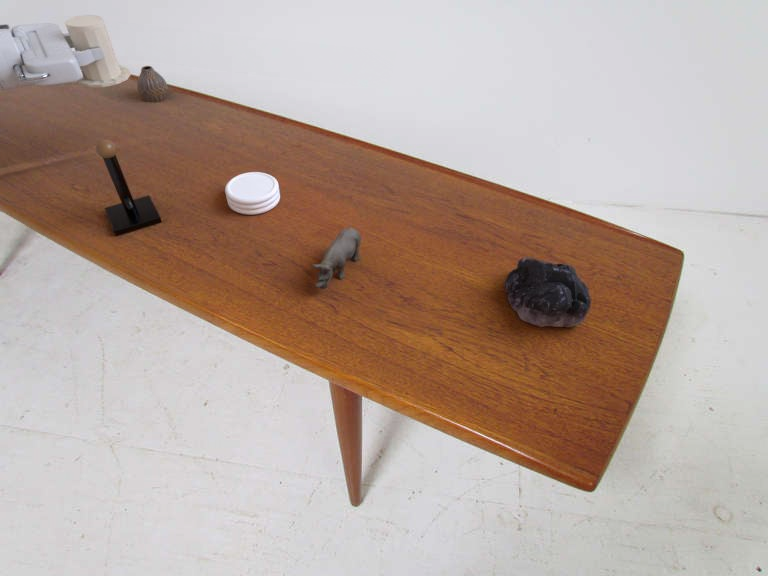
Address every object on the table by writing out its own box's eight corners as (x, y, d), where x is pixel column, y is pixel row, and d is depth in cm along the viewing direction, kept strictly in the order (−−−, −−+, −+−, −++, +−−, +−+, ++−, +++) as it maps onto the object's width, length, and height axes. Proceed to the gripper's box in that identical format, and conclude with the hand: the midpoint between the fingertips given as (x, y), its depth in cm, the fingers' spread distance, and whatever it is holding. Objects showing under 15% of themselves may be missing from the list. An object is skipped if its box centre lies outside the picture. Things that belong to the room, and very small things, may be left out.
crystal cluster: (527, 265, 86) (535, 219, 79) (605, 297, 80) (620, 250, 73) (487, 312, 80) (490, 267, 73) (567, 351, 73) (580, 306, 66)
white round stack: (268, 219, 92) (266, 204, 90) (219, 211, 94) (214, 195, 91) (287, 190, 99) (286, 174, 97) (241, 182, 101) (238, 167, 98)
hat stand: (116, 236, 88) (80, 158, 77) (106, 212, 92) (71, 136, 81) (162, 222, 91) (134, 145, 80) (150, 200, 96) (123, 124, 85)
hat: (83, 91, 89) (59, 32, 82) (74, 72, 94) (51, 16, 87) (135, 81, 93) (117, 24, 86) (123, 64, 98) (105, 9, 91)
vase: (163, 94, 128) (153, 59, 122) (177, 103, 124) (167, 68, 118) (138, 102, 124) (126, 67, 118) (151, 112, 121) (139, 76, 115)
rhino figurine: (304, 294, 79) (300, 267, 75) (345, 245, 88) (344, 217, 84) (326, 303, 78) (324, 275, 73) (366, 252, 87) (366, 224, 82)
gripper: (8, 61, 76) (104, 45, 82) (-4, 21, 88) (80, 10, 94) (28, 101, 81) (117, 84, 86) (14, 58, 93) (93, 45, 98)
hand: (98, 45), depth 90 cm, fingers closed on hat, 6 cm apart
